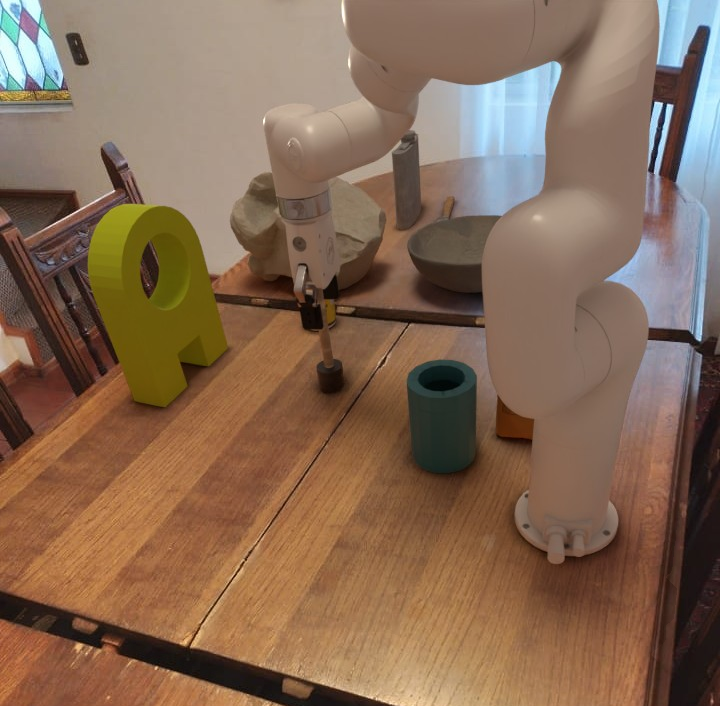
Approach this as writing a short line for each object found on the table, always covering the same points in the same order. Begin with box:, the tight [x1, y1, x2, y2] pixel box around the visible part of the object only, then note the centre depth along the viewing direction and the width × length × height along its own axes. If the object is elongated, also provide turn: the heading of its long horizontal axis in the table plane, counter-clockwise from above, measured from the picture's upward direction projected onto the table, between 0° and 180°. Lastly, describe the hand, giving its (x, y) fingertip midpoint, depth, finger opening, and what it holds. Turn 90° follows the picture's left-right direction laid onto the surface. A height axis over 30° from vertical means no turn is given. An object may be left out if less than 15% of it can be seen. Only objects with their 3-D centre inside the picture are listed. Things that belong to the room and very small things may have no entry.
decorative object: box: [87, 203, 229, 408], centre depth 114 cm, size 20×7×30 cm, turn 155°
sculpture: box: [229, 171, 387, 291], centre depth 144 cm, size 26×27×30 cm
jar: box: [406, 359, 478, 474], centre depth 95 cm, size 9×9×13 cm
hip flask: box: [391, 129, 422, 231], centre depth 163 cm, size 16×4×20 cm, turn 164°
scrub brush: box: [312, 288, 346, 394], centre depth 110 cm, size 4×4×18 cm
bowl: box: [406, 214, 502, 294], centre depth 136 cm, size 26×26×10 cm
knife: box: [435, 195, 455, 222], centre depth 164 cm, size 31×1×3 cm
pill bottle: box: [306, 282, 337, 332], centre depth 129 cm, size 6×6×12 cm
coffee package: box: [495, 393, 534, 441], centre depth 95 cm, size 10×12×22 cm
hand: (321, 313), depth 106 cm, fingers open, 9 cm apart
